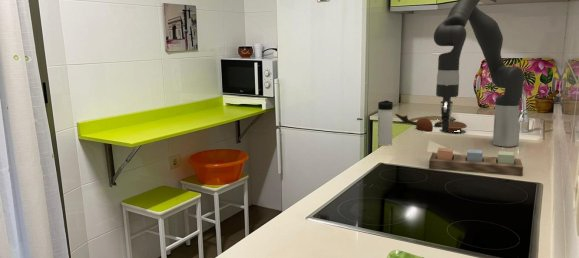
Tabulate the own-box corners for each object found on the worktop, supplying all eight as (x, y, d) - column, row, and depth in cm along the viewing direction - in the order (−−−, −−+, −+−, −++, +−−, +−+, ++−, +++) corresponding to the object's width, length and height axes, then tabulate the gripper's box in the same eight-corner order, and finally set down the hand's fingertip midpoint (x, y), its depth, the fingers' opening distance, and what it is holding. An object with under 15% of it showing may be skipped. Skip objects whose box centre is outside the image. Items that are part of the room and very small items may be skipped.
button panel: (519, 167, 161) (520, 158, 161) (522, 175, 151) (523, 167, 150) (432, 160, 173) (432, 153, 172) (428, 168, 162) (429, 160, 162)
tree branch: (451, 132, 228) (452, 117, 226) (392, 128, 242) (392, 114, 240) (458, 125, 247) (458, 111, 245) (403, 122, 261) (403, 109, 260)
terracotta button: (452, 157, 166) (453, 148, 166) (451, 160, 162) (452, 151, 161) (438, 156, 168) (438, 147, 168) (437, 159, 164) (437, 150, 163)
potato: (429, 137, 221) (414, 129, 222) (425, 134, 233) (411, 127, 233) (437, 124, 220) (422, 116, 221) (432, 121, 232) (418, 114, 232)
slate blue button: (482, 159, 163) (482, 150, 162) (482, 162, 158) (482, 153, 157) (467, 158, 164) (467, 149, 164) (466, 161, 160) (467, 152, 159)
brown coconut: (459, 119, 227) (459, 131, 228) (436, 120, 226) (436, 132, 227) (471, 124, 215) (470, 136, 216) (447, 125, 214) (446, 138, 215)
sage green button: (513, 161, 159) (513, 152, 158) (514, 164, 154) (514, 155, 154) (497, 160, 161) (498, 151, 160) (497, 163, 156) (498, 154, 156)
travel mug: (392, 145, 201) (393, 100, 197) (391, 148, 195) (392, 102, 191) (378, 144, 203) (379, 100, 199) (376, 147, 197) (377, 102, 193)
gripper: (438, 81, 168) (436, 127, 171) (434, 84, 156) (432, 133, 159) (459, 81, 165) (457, 128, 168) (457, 84, 153) (455, 134, 156)
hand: (445, 131), depth 163 cm, fingers closed
